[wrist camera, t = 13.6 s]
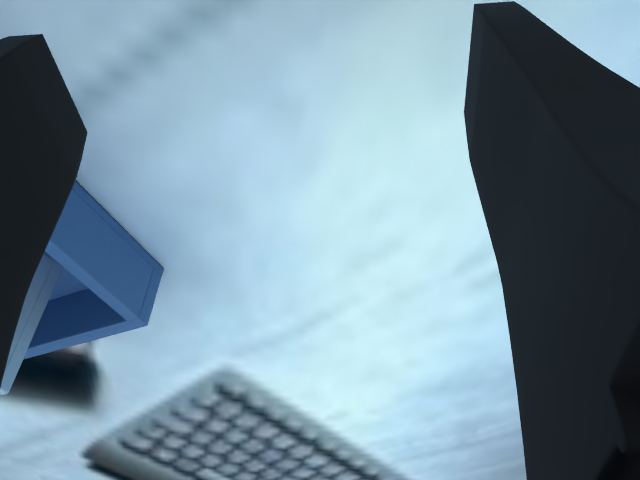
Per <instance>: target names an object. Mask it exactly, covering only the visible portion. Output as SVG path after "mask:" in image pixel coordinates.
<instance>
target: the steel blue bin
mask: <svg viewBox="0 0 640 480" xmlns="http://www.w3.org/2000/svg"><path fill="white" fill-rule="evenodd" d="M45 252H46V253H48V254H49V255H50V256H51V257H52V258H53V259H55V260H56V261H57V262H58V263H59V264H60V265H61V266H62V267H63V268H62V271H61V273H60V275H59V277H58V279H57V282H56V284H55V286H54V289H53V291H52V293H51V296H50V298H49V300H48V302H47V305H46V307H45V309H44V312H43V314H42V316H41V319H40V321H39V323H38V326H37V328H36V330H35V333H34V335H33V337H32V340H31V342H30V344H29V347H28V349H27V351H26V354H25V356H24V358H23V359H26V358H30V357H33V356H37V355H41V354H44V353H48V352H52V351H55V350H59V349H63V348H66V347H70V346H74V345H77V344H81V343H85V342H88V341H92V340H96V339H99V338H103V337H107V336H111V335H114V334H118V333H122V332H125V331H129V330H133V329H136V328H140V327H144V326H147V325H148V322H149V318H150V315H151V311H152V308H153V304H154V301H155V297H156V293H157V290H158V286H159V283H160V279H161V276H162V273H163V268H162V267H161V266H160V265H159V264H158V263H157V262H156V261H155V260H154V259H153V258H152V257H151V256H150V255H149V254H148V253H147V252H146V251H145V250H144V249H143V248H142V247H141V246H140V245H139V244H138V243H137V242H136V241H135V240H134V239H133V238H132V237H131V236H130V235H129V234H128V233H127V232H126V231H125V230H124V229H123V228H122V227H121V226H120V225H119V224H118V223H117V222H116V221H115V220H114V219H113V218H112V217H111V216H110V215H109V214H108V213H107V212H106V211H105V210H104V209H103V208H102V207H101V206H100V205H99V204H98V203H97V202H96V201H95V200H94V199H93V198H92V197H91V196H90V195H89V194H88V193H87V192H86V191H85V190H84V189H83V188H82V187H81V186H80V185H79V184H78V183H77V182H76V181H75V182H74V185H73V187H72V190H71V192H70V195H69V197H68V199H67V202H66V204H65V206H64V209H63V211H62V213H61V216H60V218H59V220H58V222H57V225H56V227H55V229H54V231H53V234H52V236H51V238H50V240H49V243H48V245H47V247H46V249H45Z"/></svg>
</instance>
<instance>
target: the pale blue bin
mask: <svg viewBox="0 0 640 480" xmlns="http://www.w3.org/2000/svg"><path fill="white" fill-rule="evenodd" d="M62 268H63V267H62V266H61V265H60V264H59V263H58V262H57V261H56V260H55V259H53V258H52V257H51V256H50V255H49V254H48V253H46V252H44V254H43V256H42V258H41V261H40V263H39V265H38V267H37V270H36V272H35V274H34V277H33V279H32V282H31V284H30V287H29V290H28V292H27V295H26V298H25V301H24V304H23V307H22V311H21V314H20V317H19V321H18V324H17V328H16V331H15V334H14V338H13V341H12V344H11V348H10V352H9V356H8V360H7V364H6V368H5V372H4V376H3V380H2V384H1V388H0V395H3V394H8V393H9V391H10V388H11V386H12V384H13V381H14V379H15V377H16V374H17V372H18V370H19V367H20V365H21V363H22V360H23V358H24V356H25V354H26V351H27V349H28V347H29V344H30V342H31V340H32V337H33V335H34V333H35V330H36V328H37V326H38V323H39V321H40V319H41V316H42V314H43V312H44V309H45V307H46V305H47V302H48V300H49V298H50V296H51V293H52V291H53V289H54V286H55V284H56V282H57V279H58V277H59V275H60V273H61V271H62Z"/></svg>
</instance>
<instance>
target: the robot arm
mask: <svg viewBox="0 0 640 480" xmlns="http://www.w3.org/2000/svg"><path fill="white" fill-rule="evenodd" d="M464 116H465V125H466V134H467V142H468V150H469V158H470V163H471V167H472V171H473V175H474V178H475V182H476V186H477V190H478V193H479V197H480V201H481V205H482V208H483V212H484V216H485V219H486V223H487V227H488V230H489V234H490V238H491V241H492V245H493V249H494V252H495V256H496V260H497V264H498V268H499V273H500V277H501V282H502V287H503V294H504V300H505V307H506V314H507V321H508V327H509V334H510V342H511V349H512V357H513V364H514V372H515V379H516V387H517V395H518V404H519V412H520V421H521V429H522V438H523V446H524V456H525V466H526V476H527V480H640V88H639V87H638V86H636V85H634V84H632V83H631V82H629V81H628V80H626V79H624V78H623V77H621V76H619V75H618V74H616V73H614V72H613V71H611V70H610V69H608V68H606V67H605V66H603V65H602V64H600V63H599V62H597V61H596V60H594V59H593V58H591V57H590V56H588V55H587V54H585V53H584V52H583V51H581V50H580V49H578V48H577V47H576V46H574V45H573V44H571V43H570V42H569V41H567V40H566V39H565V38H563V37H562V36H561V35H559V34H558V33H557V32H555V31H554V30H553V29H551V28H550V27H549V26H547V25H546V24H545V23H544V22H542V21H541V20H540V19H538V18H537V17H536V16H534V15H533V14H532V13H530V12H529V11H528V10H526V9H525V8H524V7H522V6H521V5H519V4H517V3H516V2H514V1H512V2H498V3H483V4H474V12H473V23H472V33H471V44H470V54H469V65H468V76H467V86H466V97H465V107H464ZM86 136H87V130H86V128H85V126H84V124H83V122H82V119H81V117H80V115H79V113H78V111H77V108H76V106H75V104H74V102H73V100H72V98H71V95H70V93H69V91H68V89H67V87H66V84H65V82H64V80H63V78H62V76H61V74H60V71H59V69H58V67H57V65H56V63H55V60H54V58H53V56H52V54H51V52H50V50H49V47H48V45H47V43H46V41H45V39H44V37H43V34H37V35H23V36H9V37H6V38H3V39H0V388H1V384H2V380H3V376H4V372H5V368H6V364H7V360H8V356H9V352H10V348H11V344H12V341H13V338H14V334H15V331H16V328H17V324H18V321H19V317H20V314H21V311H22V307H23V304H24V301H25V298H26V295H27V292H28V290H29V287H30V284H31V282H32V279H33V277H34V274H35V272H36V270H37V267H38V265H39V263H40V261H41V258H42V256H43V254H44V252H45V249H46V247H47V245H48V243H49V240H50V238H51V236H52V234H53V231H54V229H55V227H56V225H57V222H58V220H59V218H60V216H61V213H62V211H63V209H64V206H65V204H66V202H67V199H68V197H69V195H70V192H71V190H72V187H73V185H74V182H75V180H76V177H77V173H78V170H79V166H80V162H81V159H82V154H83V150H84V145H85V141H86Z"/></svg>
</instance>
